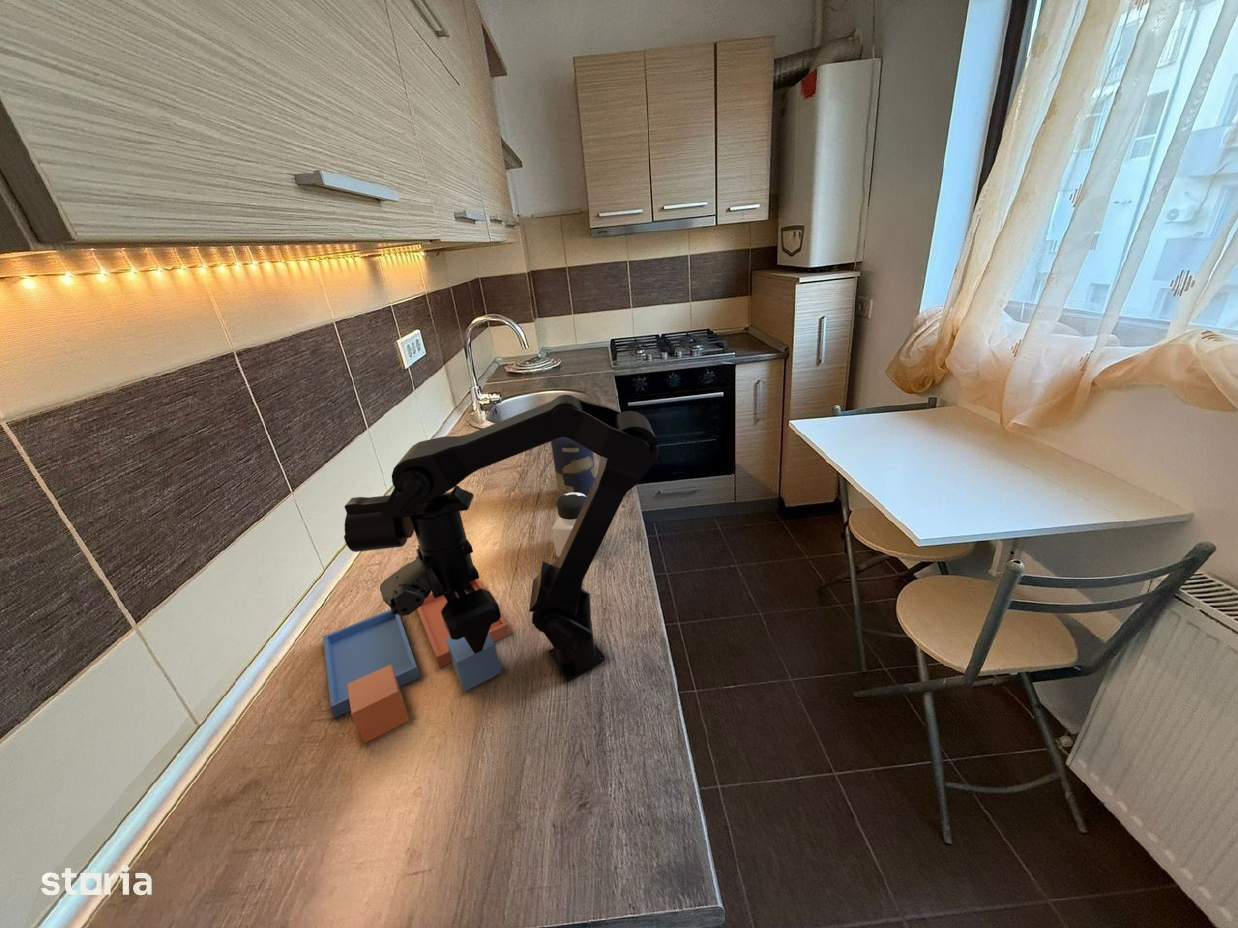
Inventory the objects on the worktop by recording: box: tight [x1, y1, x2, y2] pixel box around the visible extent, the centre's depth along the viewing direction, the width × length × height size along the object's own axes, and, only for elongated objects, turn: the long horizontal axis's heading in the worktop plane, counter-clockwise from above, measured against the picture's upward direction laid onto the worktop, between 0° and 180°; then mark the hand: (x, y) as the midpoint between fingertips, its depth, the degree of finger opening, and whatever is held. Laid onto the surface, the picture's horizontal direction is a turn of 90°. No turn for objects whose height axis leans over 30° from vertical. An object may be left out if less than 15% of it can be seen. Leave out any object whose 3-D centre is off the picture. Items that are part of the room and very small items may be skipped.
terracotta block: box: [347, 665, 410, 744], centre depth 63 cm, size 6×6×6 cm
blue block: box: [446, 633, 502, 692], centre depth 69 cm, size 6×6×6 cm
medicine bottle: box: [551, 492, 587, 558], centre depth 95 cm, size 7×7×12 cm
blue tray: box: [322, 608, 421, 718], centre depth 73 cm, size 16×11×2 cm
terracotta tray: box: [415, 578, 510, 668], centre depth 80 cm, size 16×11×2 cm
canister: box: [550, 437, 597, 497], centre depth 114 cm, size 10×10×18 cm
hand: (468, 631), depth 67 cm, fingers open, 9 cm apart
